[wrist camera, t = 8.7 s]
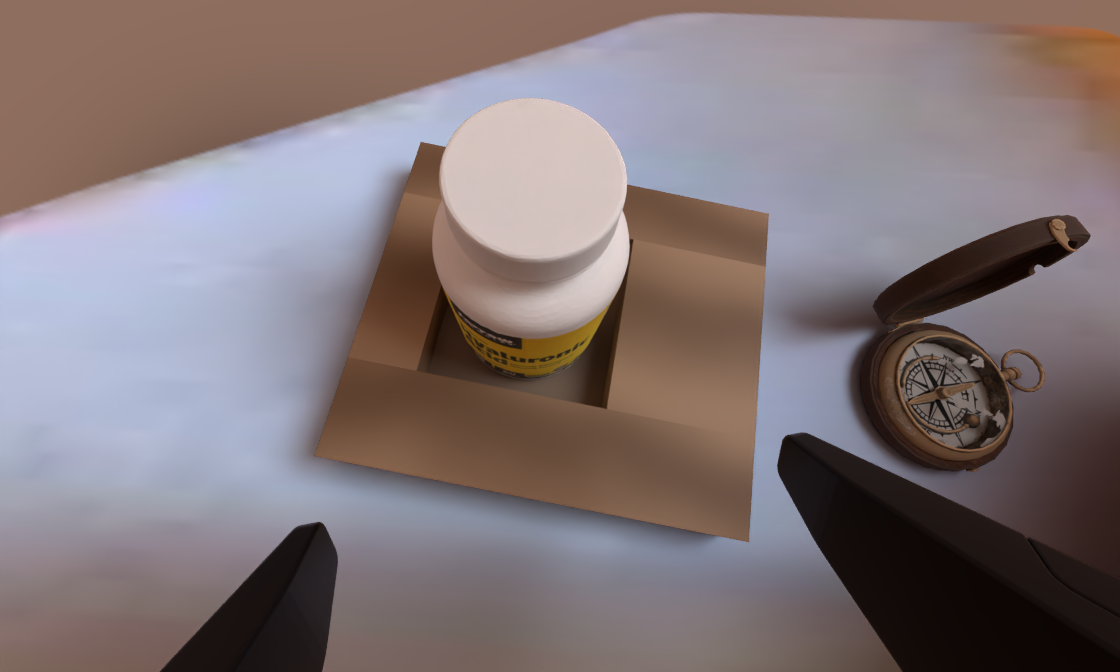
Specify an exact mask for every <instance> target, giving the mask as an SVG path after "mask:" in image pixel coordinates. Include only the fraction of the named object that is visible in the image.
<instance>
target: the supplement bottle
mask: <svg viewBox="0 0 1120 672" xmlns="http://www.w3.org/2000/svg"><path fill="white" fill-rule="evenodd" d="M439 186H440V192H441V196H442V201H441V203H440V205H439V208H438V210H437V213H436V217H435V221H434V226H433V235H432V251H433V258H434V263H435V267H436V271H437V274H438V277H439V279H440V282H441V284H442V287H443V289H444V292H445V294H446V296H447V299H448V301H449V303H450V305H451V307H452V310H453V312H454V314H455V317H456V319H457V321H458V323H459V325H460V327H461V330H462V332H463V334H464V337H465V339H466V341H467V343H468V344H469V346H470V348H471V349H472V350H473V352H474V353H475V354H476V356H477V357H478V358H479V359H480V360H481V361H482V362H483V363H484V364H486V365H487V366H488V367H490V368H491V369H493V370H494V371H496V372H498V373H500V374H502V375H505V376H508V377H512V378H516V379H523V380H535V379H542V378H546V377H550V376H553V375H555V374H558V373H559V372H561V371H563V370H565V369H566V368H568V367H569V366H571V365H572V364H573V363H574V362H575V361H576V360H577V359H578V358H579V357H580V356H581V354H582V353H583V352H584V350H585V349H586V347H587V346H588V344H589V343H590V341H591V339H592V337H593V335H594V334H595V332H596V330H597V328H598V326H599V325H600V323H601V321H602V319H603V317H604V315H605V314H606V312H607V310H608V308H609V306H610V304H611V302H612V301H613V299H614V297H615V295H616V294H617V292H618V290H619V287H620V285H621V283H622V280H623V277H624V275H625V272H626V268H627V264H628V259H629V247H630V246H629V233H628V227H627V222H626V219H625V215H624V213H623V207H624V203H625V199H626V193H627V176H626V169H625V164H624V161H623V158H622V156H621V153H620V151H619V149H618V147H617V146H616V144H615V142H614V141H613V139H612V138H611V137H610V135H609V134H608V133H607V131H606V130H605V129H604V128H603V127H601V126H600V125H599V124H598V123H597V122H596V121H595V120H593V119H592V118H591V117H589V116H588V115H586V114H585V113H583V112H581V111H579V110H577V109H575V108H573V107H571V106H568V105H565V104H562V103H559V102H556V101H551V100H545V99H536V98H524V99H513V100H508V101H504V102H500V103H497V104H493V105H491V106H489V107H487V108H485V109H482V110H480V111H479V112H477V113H476V114H474V115H473V116H471V117H470V118H469V119H467V120H466V121H465V122H464V123H463V124H462V125H461V126H460V127H459V128H458V129H457V130H456V131H455V133H454V134H453V136H452V137H451V139H450V140H449V142H448V144H447V146H446V148H445V150H444V153H443V156H442V159H441V164H440V171H439Z"/></svg>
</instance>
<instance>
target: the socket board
mask: <svg viewBox="0 0 1120 672" xmlns="http://www.w3.org/2000/svg"><path fill="white" fill-rule="evenodd" d="M445 148H446V147H443V146H438V145H433V144H428V143H423V142H421V143H420V146H419V149H418V152H417V155H416V158H415V161H414V164H413V167H412V170H411V173H410V176H409V179H408V182H407V185H406V187H405V190H404V193H403V196H402V199H401V202H400V205H399V208H398V211H397V214H396V217H395V220H394V223H393V226H392V229H391V232H390V235H389V238H388V241H387V243H386V246H385V249H384V252H383V255H382V258H381V261H380V264H379V267H378V270H377V273H376V276H375V279H374V282H373V285H372V288H371V291H370V294H369V297H368V299H367V302H366V305H365V308H364V311H363V314H362V317H361V320H360V323H359V326H358V329H357V332H356V335H355V338H354V341H353V344H352V347H351V350H350V353H349V355H348V358H347V361H346V364H345V367H344V370H343V373H342V376H341V379H340V382H339V385H338V388H337V391H336V394H335V397H334V400H333V403H332V406H331V409H330V412H329V414H328V417H327V420H326V423H325V426H324V429H323V432H322V435H321V438H320V441H319V444H318V447H317V450H316V453H315V456H317V457H322V458H327V459H332V460H337V461H342V462H347V463H352V464H357V465H362V466H368V467H373V468H378V469H383V470H388V471H393V472H398V473H403V474H408V475H413V476H418V477H423V478H428V479H433V480H438V481H443V482H448V483H453V484H458V485H463V486H468V487H474V488H479V489H484V490H489V491H494V492H499V493H504V494H509V495H514V496H519V497H524V498H529V499H534V500H539V501H544V502H549V503H554V504H559V505H564V506H569V507H574V508H580V509H585V510H590V511H595V512H600V513H605V514H610V515H615V516H620V517H625V518H630V519H635V520H640V521H645V522H650V523H655V524H660V525H665V526H670V527H675V528H680V529H686V530H691V531H696V532H701V533H706V534H711V535H716V536H721V537H726V538H731V539H736V540H741V541H746V542H749V529H750V513H751V497H752V480H753V464H754V447H755V431H756V415H757V398H758V382H759V365H760V349H761V333H762V316H763V300H764V283H765V267H766V250H767V234H768V218H769V214H767V213H762V212H757V211H752V210H747V209H743V208H738V207H733V206H728V205H723V204H718V203H714V202H709V201H704V200H699V199H694V198H689V197H685V196H680V195H675V194H670V193H665V192H660V191H656V190H651V189H646V188H641V187H636V186H631V185H627V193H626V199H625V203H624V207H623V213H624V215H625V219H626V222H627V227H628V233H629V246H630V247H629V259H628V264H627V268H626V272H625V275H624V277H623V280H622V283H621V285H620V287H619V290H618V292H617V294H616V295H615V297H614V299H613V301H612V302H611V304H610V306H609V308H608V310H607V312H606V314H605V315H604V317H603V319H602V321H601V323H600V325H599V326H598V328H597V330H596V332H595V334H594V335H593V337H592V339H591V341H590V343H589V344H588V346H587V347H586V349H585V350H584V352H583V353H582V354H581V356H580V357H579V358H578V359H577V360H576V361H575V362H574V363H573V364H572V365H571V366H569V367H568V368H566V369H565V370H563V371H561V372H559V373H558V374H555V375H553V376H550V377H546V378H542V379H535V380H523V379H516V378H512V377H508V376H505V375H502V374H500V373H498V372H496V371H494V370H493V369H491V368H490V367H488V366H487V365H486V364H484V363H483V362H482V361H481V360H480V359H479V358H478V357H477V356H476V354H475V353H474V352H473V350H472V349H471V348H470V346H469V344H468V343H467V341H466V339H465V337H464V334H463V332H462V330H461V327H460V325H459V323H458V321H457V319H456V317H455V314H454V312H453V310H452V307H451V305H450V303H449V301H448V299H447V296H446V294H445V292H444V289H443V287H442V284H441V282H440V279H439V277H438V274H437V271H436V267H435V263H434V258H433V251H432V235H433V226H434V221H435V217H436V213H437V210H438V208H439V205H440V203H441V201H442V196H441V192H440V186H439V171H440V164H441V159H442V156H443V153H444V150H445Z"/></svg>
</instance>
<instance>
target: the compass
mask: <svg viewBox="0 0 1120 672" xmlns="http://www.w3.org/2000/svg"><path fill="white" fill-rule="evenodd" d="M1090 236H1091V235H1090V234H1089V233H1088V231H1087V230H1086V229H1085V228H1084V227H1083V225H1082V224H1081V223H1080V222H1079V221H1078V219H1077V218H1076V217H1073V216H1069V215H1065V216H1051V217H1044V218H1039V219H1035V220H1032V221H1028V222H1025V223H1021V224H1018V225H1015V226H1012V227H1009V228H1007V229H1004V230H1001V231H998V232H996V233H993V234H990V235H988V236H985V237H983V238H980V239H978V240H976V241H973V242H971V243H969V244H967V245H964V246H962V247H960V248H957V249H955V250H953V251H951V252H949V253H947V254H945V255H943V256H941V257H939V258H937V259H935V260H933V261H931V262H929V263H927V264H925V265H923V266H921V267H920V268H918V269H916V270H914V271H913V272H911V273H909V274H907V275H906V276H904V277H902V278H901V279H900V280H898V281H897V282H895V283H894V284H892V285H891V286H889V287H888V288H887V289H886V290H885V291H883V292H882V293H881V294H880V295H879V296H878V298H877V300H876V301H875V303H874V305H873V308H874V310H875V311H876V313H877V315H878V317H879V318H880V320H881V322H882V323H884V324H886V325H887V324H894V326H895V327H896V328H895V329H893V330H891V331H889V332H888V333H887V334H885V335H883V336H882V337H881V338H879V339H878V340H877V341H876V342H875V343H874V344H873V345H872V346H871V347H870V349H869V352H868V354H867V356H866V358H865V360H864V362H863V367H862V375H861V388H862V394H863V400H864V404H865V406H866V409H867V411H868V413H869V415H870V418H871V420H872V422H873V424H874V425H875V427H876V428H877V429H878V431H879V432H880V433H881V435H882V436H883V437H884V439H885V440H886V441H887V442H888V443H889V444H890V445H891V446H893V447H894V448H895V449H896V450H897V451H899V452H900V453H901V454H902V455H904V456H905V457H907V458H909V459H911V460H913V461H915V462H917V463H919V464H921V465H923V466H925V467H931V468H936V469H941V470H965V469H966V471H969V472H972V471H977V470H978V469H979V467H980V466H982V465H984V464H986V463H988V462H990V461H992V460H994V459H995V458H996V457H997V456H998V454H999V453H1000V452H1001V451H1002V450H1003V449H1004V447H1005V446H1006V445H1007V442H1008V439H1009V437H1010V434H1011V431H1012V428H1013V403H1012V399H1011V395H1010V392H1009V388H1008V385H1007V383H1006V381H1008V382H1009V384H1011V385H1012V386H1013V387H1015V388H1016V389H1018V390H1021V391H1024V392H1034V391H1036V390H1038V389H1039V388H1041V387H1042V385H1043V383H1044V378H1045V373H1044V370H1043V368H1042V365H1041V364H1040V362H1039V361H1038V360H1037V359H1036V358H1035V357H1034V356H1033V355H1031V354H1030V353H1028V352H1026V351H1023V350H1011V351H1009V352H1007V353H1005V354H1004V356H1003V358H1002V360H1001V370H999V368H998V366H997V365H996V364H995V362H994V361H993V360H992V359H991V358H990V356H989V355H988V354H987V353H986V352H985V351H984V349H983V348H981V347H980V346H979V345H977V344H976V343H975V342H974V341H972V340H971V339H970V338H968V337H967V336H966V335H964V334H961V333H959V332H957V331H955V330H953V329H951V328H949V327H946V326H941V325H936V324H931V323H923V322H920V321H923V320H924V318H923V317H927V316H930V315H934V314H937V313H940V312H943V311H946V310H948V309H951V308H954V307H957V306H960V305H962V304H965V303H968V302H970V301H973V300H976V299H978V298H981V297H983V296H985V295H988V294H990V293H993V292H995V291H997V290H1000V289H1002V288H1005V287H1007V286H1009V285H1011V284H1013V283H1016V282H1018V281H1020V280H1022V279H1024V278H1027V277H1029V276H1031V275H1033V274H1034V273H1035V271H1034V267H1035V266H1036V265H1037V264H1038V265H1042V266H1043V267H1049V266H1051V265H1053V264H1054V263H1056V262H1058V261H1059V260H1061V259H1063V258H1065V257H1066V256H1068V255H1070V254H1071V253H1073V252H1075V251H1077V249H1079V248H1080V247H1081V246H1083V245H1084V244H1085V243H1087V242H1088V240H1089V238H1090ZM915 322H920V323H915ZM1013 353H1021V354H1023V355H1026V356H1027V357H1029V358H1030V359H1032V360H1033V362H1034V363H1035V364H1036V366H1037V368H1038V370H1039V373H1040V380H1039V382H1038V384H1037V386H1035V387H1033V388H1028V389H1026V388H1023V387H1021V386H1019V385H1017V384H1016V383H1015V382H1013V381H1012V380H1015V379H1018V378H1020V377H1021V375H1022V374H1021V371H1020V370H1019V369H1018V368H1016V367H1010V368H1007V369H1006V360H1007V358H1008V356H1009V355H1011V354H1013Z"/></svg>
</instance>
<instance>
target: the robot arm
mask: <svg viewBox="0 0 1120 672" xmlns="http://www.w3.org/2000/svg"><path fill="white" fill-rule="evenodd" d="M777 467H778V473H779V476H780V478H781V480H782V482H783V484H784V485H785V487H786V489H787V491H788V493H789V495H790V496H791V498H792V500H793V502H794V504H795V506H796V507H797V509H798V511H799V513H800V515H801V517H802V519H803V520H804V522H805V524H806V526H807V528H808V530H809V531H810V533H811V535H812V537H813V538H814V540H815V542H816V544H817V545H818V547H819V548H820V550H821V552H822V553H823V555H824V556H825V558H826V559H827V561H828V562H829V564H830V565H831V567H832V568H833V570H834V571H835V573H836V574H837V575H838V577H839V578H840V580H841V581H842V583H843V584H844V586H845V587H846V589H847V590H848V592H849V593H850V595H851V596H852V598H853V599H854V601H855V602H856V604H857V605H858V607H859V608H860V610H861V611H862V613H863V614H864V615H865V617H866V618H867V620H868V621H869V623H870V624H871V626H872V627H873V629H874V630H875V632H876V633H877V635H878V636H879V638H880V639H881V641H882V642H883V644H884V645H885V647H886V648H887V650H888V651H889V653H890V654H891V655H892V657H893V658H894V660H895V661H896V663H897V664H898V666H899V667H900V669H901V670H902V672H1120V578H1118V577H1116V576H1114V575H1111V574H1109V573H1107V572H1104V571H1102V570H1100V569H1098V568H1096V567H1093V566H1091V565H1089V564H1087V563H1085V562H1082V561H1080V560H1078V559H1076V558H1074V557H1071V556H1069V555H1067V554H1065V553H1063V552H1060V551H1058V550H1056V549H1054V548H1052V547H1050V546H1048V545H1045V544H1043V543H1041V542H1039V541H1037V540H1035V539H1033V538H1030V537H1028V538H1026V537H1025V535H1023V534H1022V533H1020V532H1017V531H1015V530H1013V529H1011V528H1009V527H1007V526H1005V525H1002V524H1000V523H998V522H996V521H994V520H992V519H990V518H988V517H985V516H983V515H981V514H979V513H977V512H975V511H973V510H970V509H968V508H966V507H964V506H962V505H960V504H958V503H955V502H953V501H951V500H949V499H947V498H945V497H943V496H941V495H938V494H936V493H934V492H932V491H930V490H928V489H926V488H923V487H921V486H919V485H917V484H915V483H913V482H911V481H908V480H906V479H904V478H902V477H900V476H898V475H896V474H894V473H891V472H889V471H887V470H885V469H883V468H881V467H879V466H876V465H874V464H872V463H870V462H868V461H866V460H864V459H861V458H859V457H857V456H855V455H853V454H851V453H849V452H846V451H844V450H842V449H840V448H838V447H836V446H834V445H832V444H829V443H827V442H825V441H823V440H821V439H819V438H817V437H814V436H812V435H810V434H808V433H796V434H791V435H787V436H785V437H784V439H783V441H782V445H781V450H780V454H779V459H778V465H777ZM337 565H338V556H337V551H336V549H335V546H334V544H333V542H332V540H331V538H330V536H329V533H328V531H327V529H326V527H325V526H324V524H323V523H321V522H316V523H310V524H305V525H300V526H298V527H296V528H295V529H293V530H292V531H291V532H290V533H289V535H288V536H287V537H286V538H285V539H284V540H283V541H282V542H281V543H280V544H279V545H278V546H277V547H276V548H275V549H274V551H273V552H272V553H271V554H270V555H269V556H268V557H267V558H266V559H265V560H264V561H263V562H262V563H261V564H260V565H259V566H258V568H257V569H256V570H255V571H254V572H253V573H252V574H251V575H250V576H249V577H248V578H247V579H246V580H245V581H244V582H243V583H242V585H241V586H240V587H239V588H238V589H237V590H236V591H235V592H234V593H233V594H232V595H231V596H230V597H229V598H228V599H227V600H226V602H225V603H224V604H223V605H222V606H221V607H220V608H219V609H218V610H217V611H216V612H215V613H214V614H213V615H212V616H211V617H210V619H209V620H208V621H207V622H206V623H205V624H204V625H203V626H202V627H201V628H200V629H199V630H198V631H197V632H196V633H195V635H194V636H193V637H192V638H191V639H190V640H189V641H188V642H187V643H186V644H185V645H184V646H183V647H182V648H181V649H180V650H179V652H178V653H177V654H176V655H175V656H174V657H173V658H172V659H171V660H170V661H169V662H168V663H167V664H166V665H165V666H164V667H163V669H162V670H161V671H160V672H322V669H323V665H324V660H325V655H326V649H327V642H328V635H329V628H330V620H331V612H332V604H333V596H334V589H335V581H336V573H337Z"/></svg>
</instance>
